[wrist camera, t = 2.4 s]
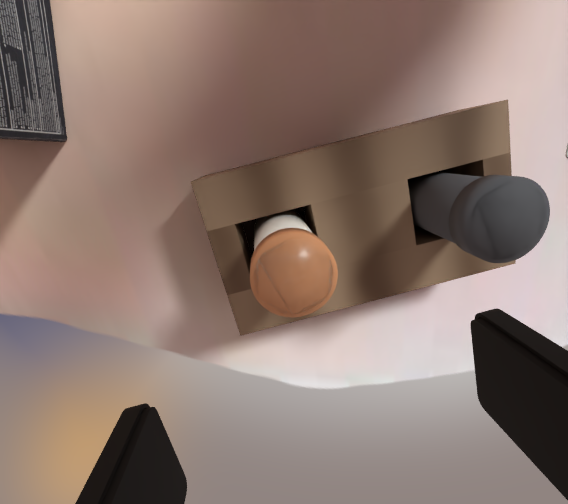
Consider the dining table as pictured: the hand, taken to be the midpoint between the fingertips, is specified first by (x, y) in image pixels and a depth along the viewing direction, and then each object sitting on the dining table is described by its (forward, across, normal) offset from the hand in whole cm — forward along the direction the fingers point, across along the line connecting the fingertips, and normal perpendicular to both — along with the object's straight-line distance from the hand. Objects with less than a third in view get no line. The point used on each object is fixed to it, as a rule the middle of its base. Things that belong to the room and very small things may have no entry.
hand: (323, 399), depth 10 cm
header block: (+21, -6, 0) cm, 22 cm away
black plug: (+21, -12, 0) cm, 24 cm away
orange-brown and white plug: (+21, 0, 0) cm, 21 cm away
